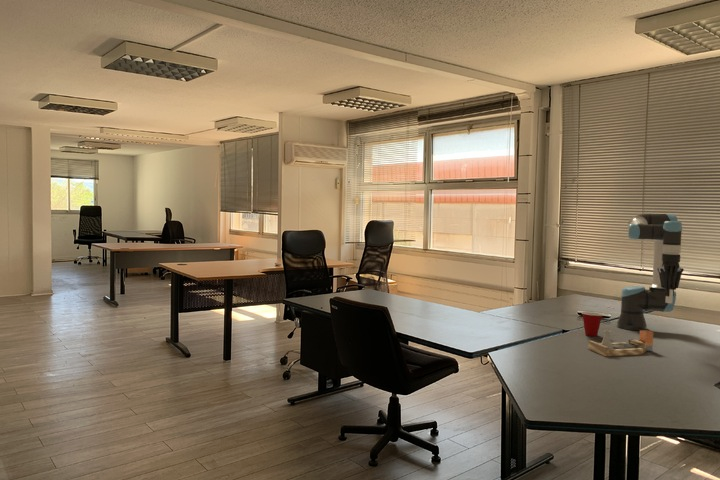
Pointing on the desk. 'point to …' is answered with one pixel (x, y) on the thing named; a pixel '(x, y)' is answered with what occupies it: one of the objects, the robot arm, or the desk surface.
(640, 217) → the robot arm
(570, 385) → the desk surface
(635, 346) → the grey orange angled block
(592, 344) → the wooden tray
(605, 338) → the flask
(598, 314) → the plastic cup
